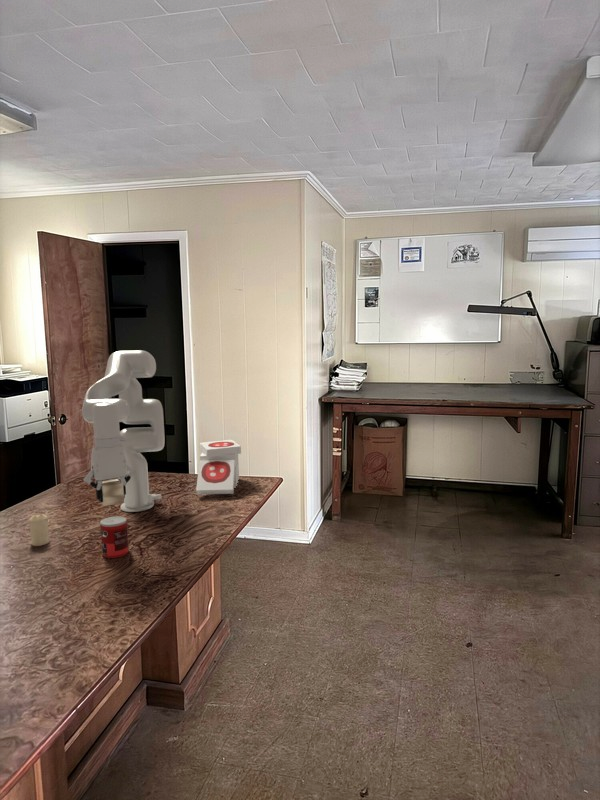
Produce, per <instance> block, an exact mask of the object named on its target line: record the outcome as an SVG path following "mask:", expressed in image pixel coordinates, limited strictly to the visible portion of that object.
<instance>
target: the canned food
mask: <svg viewBox="0 0 600 800" xmlns="http://www.w3.org/2000/svg"><path fill="white" fill-rule="evenodd" d="M99 524H100V525H99V526H100V537H101V538H100V539H101V552H102V555H103V557H105V558H106V559H118V558H121V557H124V556H126V555H128V553H129V537H128V536H129V535H128V522H127V518H126V517H125V516H121V515H120V516H119V515H118V516H115V515H114V516H109V517H106V518H102V519H101V520H100V523H99Z"/></svg>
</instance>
